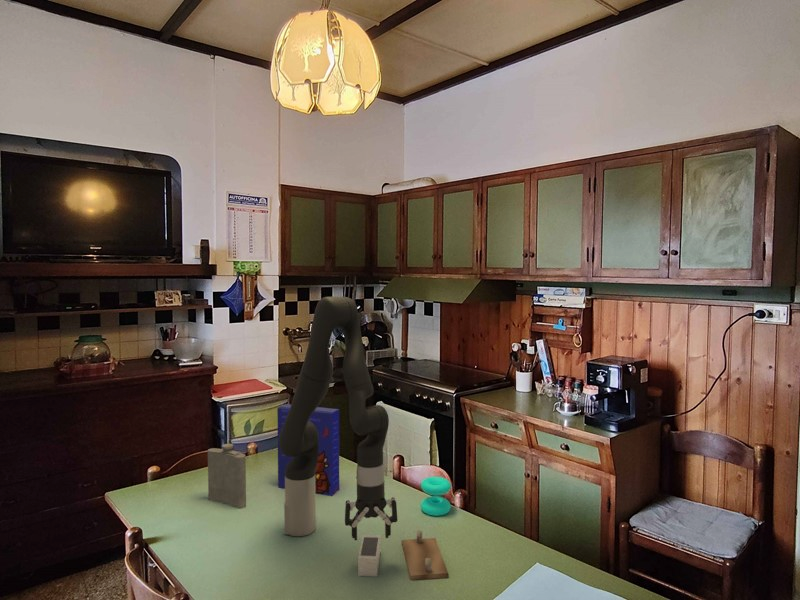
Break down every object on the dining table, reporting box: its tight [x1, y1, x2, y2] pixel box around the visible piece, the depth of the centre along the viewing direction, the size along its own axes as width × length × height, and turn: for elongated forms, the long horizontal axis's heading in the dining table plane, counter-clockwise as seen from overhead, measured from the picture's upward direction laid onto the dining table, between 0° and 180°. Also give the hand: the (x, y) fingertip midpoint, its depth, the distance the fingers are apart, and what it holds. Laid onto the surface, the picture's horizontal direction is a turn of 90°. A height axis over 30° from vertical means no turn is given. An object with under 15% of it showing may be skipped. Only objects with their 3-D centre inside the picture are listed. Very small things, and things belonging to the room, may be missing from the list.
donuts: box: [420, 476, 452, 517], centre depth 176 cm, size 10×10×10 cm
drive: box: [357, 534, 381, 577], centre depth 144 cm, size 5×12×5 cm, turn 178°
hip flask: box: [207, 443, 247, 509], centre depth 181 cm, size 16×4×20 cm, turn 64°
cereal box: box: [276, 403, 340, 497], centre depth 192 cm, size 22×6×30 cm, turn 72°
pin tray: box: [401, 530, 449, 581], centre depth 146 cm, size 10×18×4 cm, turn 7°
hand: (371, 537), depth 144 cm, fingers open, 8 cm apart
